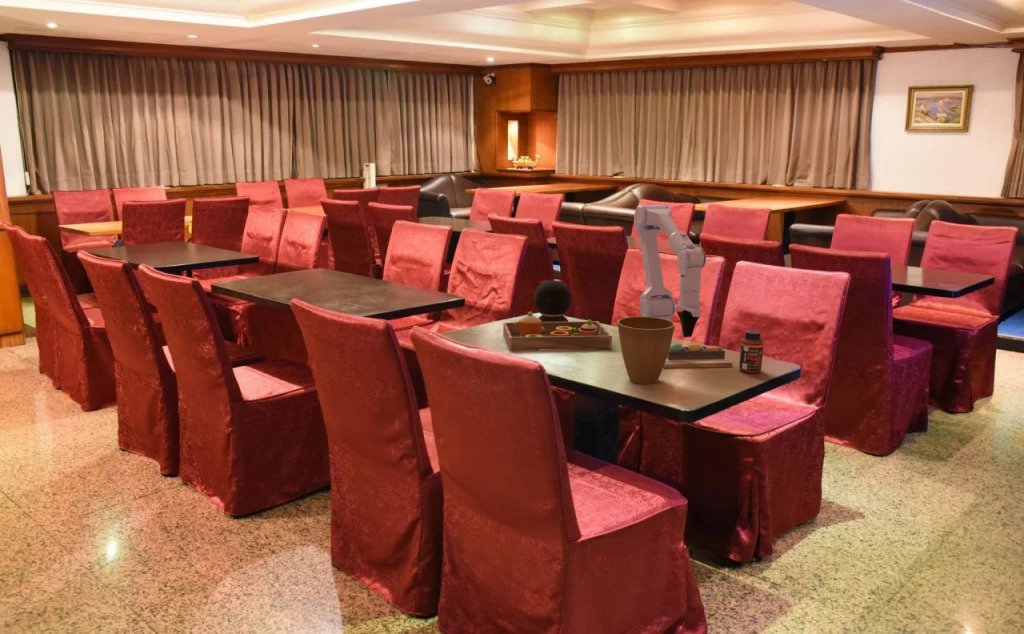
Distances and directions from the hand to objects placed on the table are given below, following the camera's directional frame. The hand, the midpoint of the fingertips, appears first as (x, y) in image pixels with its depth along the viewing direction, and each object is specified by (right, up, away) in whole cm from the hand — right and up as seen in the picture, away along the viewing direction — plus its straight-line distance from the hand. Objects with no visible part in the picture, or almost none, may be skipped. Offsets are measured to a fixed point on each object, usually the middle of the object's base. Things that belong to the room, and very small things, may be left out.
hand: (687, 336), depth 243 cm
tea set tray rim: (-37, -2, +24) cm, 44 cm away
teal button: (-3, -5, +1) cm, 6 cm away
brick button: (+8, -6, +2) cm, 10 cm away
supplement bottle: (+16, -10, -9) cm, 20 cm away
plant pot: (-16, -12, -19) cm, 27 cm away
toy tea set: (-37, -3, +25) cm, 44 cm away
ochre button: (+2, -5, +1) cm, 5 cm away
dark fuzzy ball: (-37, +3, +52) cm, 64 cm away
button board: (+1, -7, +2) cm, 7 cm away
